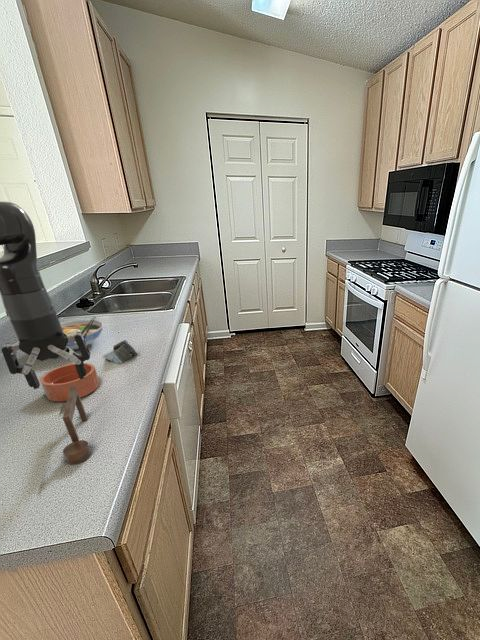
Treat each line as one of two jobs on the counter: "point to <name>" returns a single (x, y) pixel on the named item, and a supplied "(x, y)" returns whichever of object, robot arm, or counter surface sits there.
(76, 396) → the brown bent ladle
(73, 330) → the ramen bowl
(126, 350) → the grey angular wedge
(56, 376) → the bowl
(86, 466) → the counter surface
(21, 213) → the robot arm
